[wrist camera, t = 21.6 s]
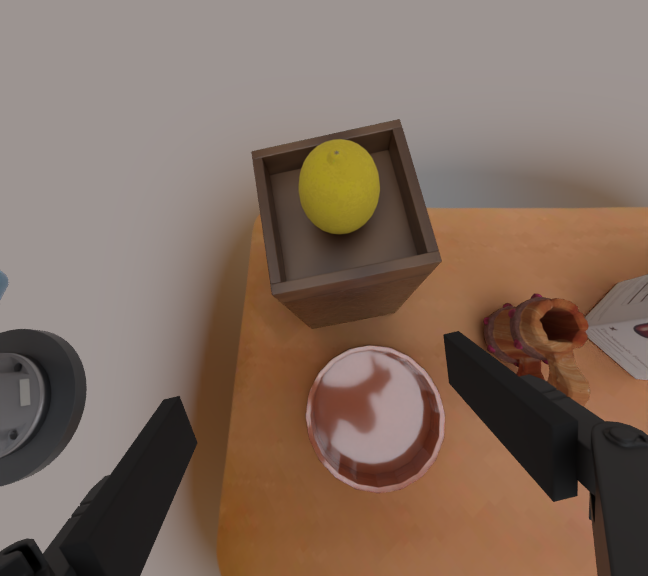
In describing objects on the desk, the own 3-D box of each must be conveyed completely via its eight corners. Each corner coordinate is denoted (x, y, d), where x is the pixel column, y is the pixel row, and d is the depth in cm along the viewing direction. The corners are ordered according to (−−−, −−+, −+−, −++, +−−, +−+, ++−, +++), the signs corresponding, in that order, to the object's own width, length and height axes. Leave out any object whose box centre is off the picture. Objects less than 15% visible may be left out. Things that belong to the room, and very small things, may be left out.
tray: (281, 303, 24) (271, 295, 21) (261, 173, 27) (250, 151, 24) (430, 273, 24) (442, 261, 21) (394, 144, 27) (399, 118, 24)
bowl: (322, 487, 39) (319, 503, 34) (301, 359, 43) (296, 359, 38) (449, 465, 38) (462, 479, 34) (416, 337, 42) (424, 334, 38)
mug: (472, 307, 42) (522, 285, 30) (524, 306, 42) (596, 283, 30) (484, 401, 40) (545, 419, 27) (540, 401, 39) (627, 420, 27)
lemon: (385, 200, 25) (401, 128, 17) (357, 260, 24) (361, 211, 16) (324, 178, 26) (313, 100, 18) (295, 234, 25) (271, 176, 17)
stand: (311, 329, 44) (281, 303, 24) (298, 251, 47) (261, 173, 27) (394, 312, 43) (430, 273, 24) (375, 235, 46) (394, 144, 27)
